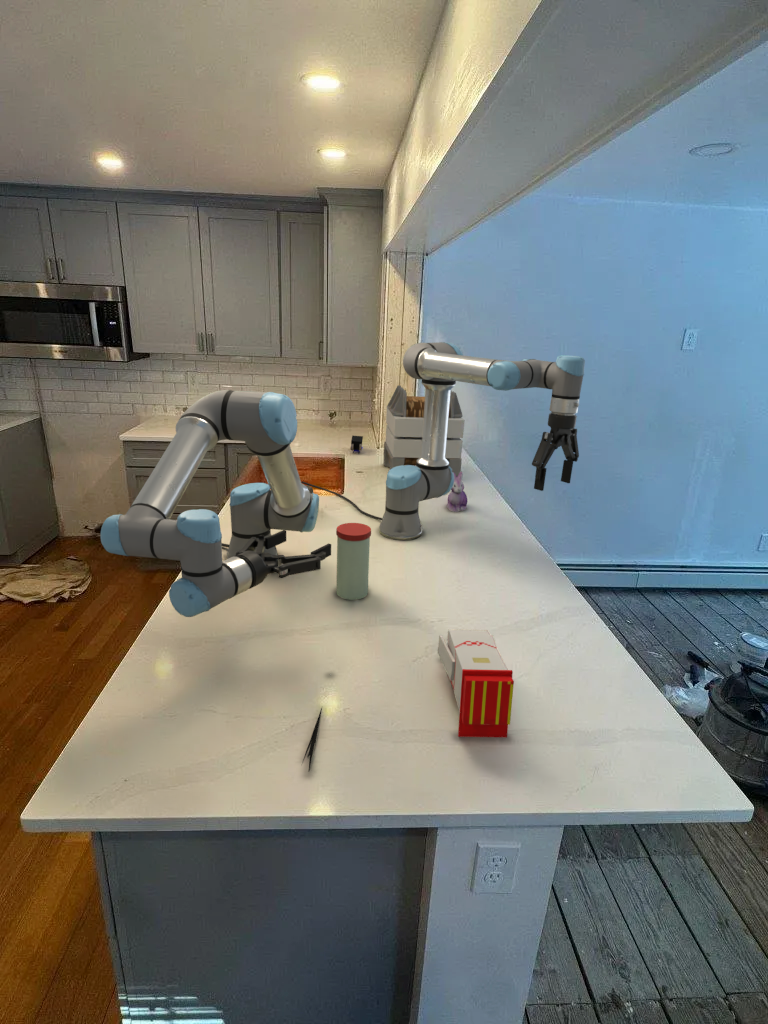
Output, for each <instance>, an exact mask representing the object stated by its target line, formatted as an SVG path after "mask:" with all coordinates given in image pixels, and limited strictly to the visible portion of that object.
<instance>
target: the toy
mask: <svg viewBox="0 0 768 1024" xmlns="http://www.w3.org/2000/svg"><path fill="white" fill-rule="evenodd" d="M446 640H447V643H446V641H445V639H444V636H443V635H442V634H439V637H438V646H437V656H438V657H439V659H440V661H441V663H442V666H443V668H444V670H445V672H446V674H447V677H448V679H449V681H450V684H451V687H452V690H453V693H454V697H455V701H456V705H457V708H458V711H459V714H458V715H459V716H458V730H457V731H458V732H457V737H458V738H508V731H509V726H510V725H511V717H512V707H513V697H514V696H513V695H514V684H515V680H514V679H513V673H514V671H513V670H512V669H508V667H507V665H506V662H505V661H504V659H503V658H502V655H501V653H500V651H499V649H498V647H497V643H496V639H495V637H494V635H493V634H491V632H490V631H489V629H467V628H466V629H465V628H463V629H461V628H460V629H459V628H448V630H447V639H446Z"/></svg>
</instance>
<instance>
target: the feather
mask: <svg viewBox="0 0 768 1024" xmlns="http://www.w3.org/2000/svg"><path fill="white" fill-rule="evenodd" d="M329 675H330V676H331V675H332V674H331V673H330V674H329ZM322 710H323V707H321V708H320V710H319V713H318V716H317V719H316V723H315V725H314V728H313V731H312V733H311V737H310V739H309V742H308V745H307V748H306V751H305V754H304V757H303V760H302V763H301V767H302V765H303V763H304V761H305V758H308V759H309V760H308V762H307V763H308V764H307V766H308V771H310V770H311V766H312V765H311V764H312V760H313V757H315V756H314V755H315V751H316V749H315V746H317V739H318V733H319V729H320V722H321V717H322V712H323V711H322ZM313 754H314V755H313ZM306 755H307V757H306Z"/></svg>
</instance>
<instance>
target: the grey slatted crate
mask: <svg viewBox="0 0 768 1024" xmlns="http://www.w3.org/2000/svg"><path fill="white" fill-rule="evenodd" d="M407 394H408V393H407V390H406V389H404V388H403V387H402V385H399V384H398V385H397V386H396V388H395V390H394V392H393V394H392V395H391V398H390V400H389V402H388V404H387V405H386V413H385V414H386V415H385V423H386V428H385V438H384V442H383V466H384V467H388V468H389V470H390V469H392V468H394V467H396V466H401V465H404V466H405V465H413V466H416V461H417V459H418V458H420V457H421V449H422V434H423V419H424V404H425V396H415V395H414V396H413V395H412V396H411V395H407ZM464 429H465V419H464V418H463V411H462V408H461V405H460V402H459V398H458V395H457V392H455V391H453V390H451V392H450V404H449V416H448V428H447V441H446V453H445V458H446V459H447V461H448V462H449V466H450V467H451V469H452V472H454V473H455V475H456V476H458V475H459V473H460V472H462V461H463V460H462V453H463V442H464V441H463V440H462V439H463V438H464V431H465V430H464Z"/></svg>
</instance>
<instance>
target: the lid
mask: <svg viewBox="0 0 768 1024" xmlns="http://www.w3.org/2000/svg"><path fill="white" fill-rule="evenodd" d="M335 534H336V536H338V537H339V538H341V539H344V540H348V541H361V540H365V539H368V538H369V537H370V538H371V536H372V528H371V526H369V525H367V524H364V523H360V522H345V523H341V524H339V525H338V526H337V527H336V530H335Z"/></svg>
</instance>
